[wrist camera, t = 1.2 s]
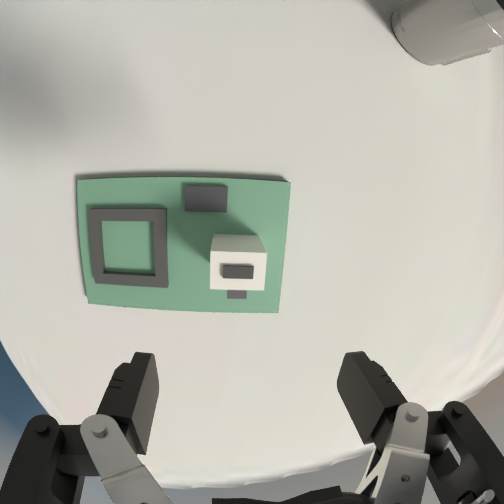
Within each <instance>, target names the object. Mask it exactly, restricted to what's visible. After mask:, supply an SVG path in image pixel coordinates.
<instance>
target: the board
mask: <svg viewBox="0 0 504 504" xmlns="http://www.w3.org/2000/svg"><path fill="white" fill-rule="evenodd" d="M290 186H291V182H283V181H269V180H254V179H235V178H209V177H127V178H101V179H84V180H77V203H78V224H79V238H80V249H81V258H82V266H83V274H84V281H85V287H86V293H87V299H88V303H89V304H98V305H108V306H119V307H131V308H144V309H159V310H176V311H198V312H231V313H278V310H279V301H280V293H281V283H282V274H283V264H284V254H285V244H286V233H287V222H288V211H289V198H290ZM213 234H238V235H258V236H259V238H260V240H261V242H262V244H263V246H264V248H265V250H266V252H267V262H266V274H265V286H264V291H263V290H247V298H246V299H227V290H218V289H210V251H211V245H212V239H213Z"/></svg>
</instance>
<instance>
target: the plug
mask: <svg viewBox="0 0 504 504" xmlns="http://www.w3.org/2000/svg"><path fill="white" fill-rule="evenodd" d="M266 262H267V252H266V250H265V248H264V246H263V244H262V242H261V240H260V238H259V236H258V235H238V234H213V239H212V245H211V251H210V289H218V290H227V299H246V298H247V290H263V291H264V286H265V274H266Z"/></svg>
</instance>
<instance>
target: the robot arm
mask: <svg viewBox="0 0 504 504" xmlns="http://www.w3.org/2000/svg"><path fill="white" fill-rule="evenodd" d="M391 24H392V28H393V31H394V33H395V35H396V37H397V39H398V40H399V42H400V43H401V45H402V46H403V47H404V48H405V49H406V51H407V52H408V53H409V54H411V55H412V56H413V57H414V58H415V59H417V60H418V61H420V62H422V63H424V64H427V65H437V64H440V63H441V64H443V65H448V64H451V63H454V62H457V61H460V60H464V59H467V58H470V57H474V56H477V55H481V54H485V53H489V52H490V51H491V48H492V47H496V46H500V45H504V0H409V1H408V2H407V3H405V4H404V5H402V6H401V7H400V8H398V9H397V10H396V11H395V12H394V13H393V14H392V18H391ZM337 389H338V392H339V394H340V396H341V398H342V400H343V402H344V404H345V406H346V408H347V410H348V412H349V415H350V417H351V419H352V421H353V423H354V425H355V427H356V429H357V431H358V433H359V435H360V437H361V439H362V441H363V443H364V445H365V444H369V443H373V442H374V443H375V445H376V446H375V448H374V450H373V452H372V455H371V458H370V461H369V463H368V466H367V469H366V471H365V474H364V476H363V479H362V481H361V483H360V485H359V487H358V488H357V490H356V492H355V493H351V492H341V489H340V486H335V487H330V488H325V489H320V490H315V491H310V492H307V493H305V494H302V495H299V496H297V497H294V498H291V499H289V500H285V501H282V502H270V501H262V500H254V499H247V498H231V499H230V498H229V499H223V498H220V499H219V498H212V504H421V500H422V496H423V492H424V487H425V482H426V477H427V476H428V478H429V480H430V482H431V484H432V486H433V488H434V491H435V493H436V495H437V497H438V499H439V501H440V503H441V504H504V457H503V456H502V454H501V452H500V451H499V449H498V448H497V447H496V445H495V444H494V442H493V441H492V439H491V438H490V437H489V435H488V434H487V433H486V431H485V430H484V428H483V427H482V426H481V424H480V423H479V422H478V420H477V419H476V418H475V416H474V415H473V414H472V412H471V411H470V410H469V408H468V407H467V406H466V405H464V404H463V403H461V402H458V401H451V402H448V403H447V404H446V405H445V407H444V408H443V410H442V411H430V412H427V411H426V409H425V408H424V407H423V406H421V405H419V404H417V403H412V402H407V400H406V399H405V397H404V396H403V395H402V393H401V392H400V390H399V389H398V388H397V386H396V385H395V383H394V382H392V379H391V378H390V377H389V376H388V374H387V373H386V371H385V370H384V368H383V367H382V366H380V365H379V364H378V363H376V362H375V361H370V359H369V358H368V357H367V355H366V354H365V352H363V351H359V352H350V353H346V354H345V356H344V359H343V362H342V366H341V369H340V372H339V376H338V379H337ZM158 394H159V380H158V374H157V368H156V362H155V356H154V354H152V353H142V352H135V354H134V356H133V358H132V361H131V363H124V362H123V363H122V364H121V365H120V366H119V367H118V368H117V369H115V371H114V373H113V376H112V378H111V380H110V382H109V385H108V387H107V389H106V392H105V394H104V396H103V399H102V401H101V403H100V406H99V408H98V411H97V413H96V415H92V416H90V417H88V418H86V419H85V420H84V421H83V422H82V424H80V425H59V424H58V422H57V421H56V419H54V418H53V417H51V416H49V415H37V416H35V417H33V418H32V419H31V420H30V421H29V422H28V424H27V426H26V428H25V430H24V432H23V434H22V437H21V439H20V441H19V443H18V446H17V448H16V450H15V453H14V455H13V457H12V460H11V463H10V465H9V468H8V470H7V473H6V475H5V478H4V481H3V484H2V487H1V490H0V504H80V498H81V493H82V489H83V484H84V479H85V476H101V478H102V480H101V481H102V484H103V485H104V488H105V489H106V491H107V493H108V495H109V496H110V498H111V500H112V502H113V503H114V504H174V503H173V502H172V501H171V499H170V498H169V497H168V496H167V494H166V493H165V492H164V491H163V489H162V488H161V487H160V485H159V484H158V483H157V481H156V480H155V479H154V477H153V476H152V475H151V473H150V472H149V471H148V469H147V468H146V467H145V466H144V465H143V464H142V463H141V462H140V460H139V459H138V457H137V454H142V455H146V451H147V446H148V441H149V436H150V431H151V426H152V421H153V417H154V412H155V408H156V403H157V399H158ZM451 443H452V444H453V445H454V447H455V449H456V450H457V452H458V453H459V455H460V458H461V463H460V465H458V463H457V461H456V460H455V458H454V456H453V454H452V453H451V451H450V449H449V448H448V447H449V445H450V444H451Z"/></svg>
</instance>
